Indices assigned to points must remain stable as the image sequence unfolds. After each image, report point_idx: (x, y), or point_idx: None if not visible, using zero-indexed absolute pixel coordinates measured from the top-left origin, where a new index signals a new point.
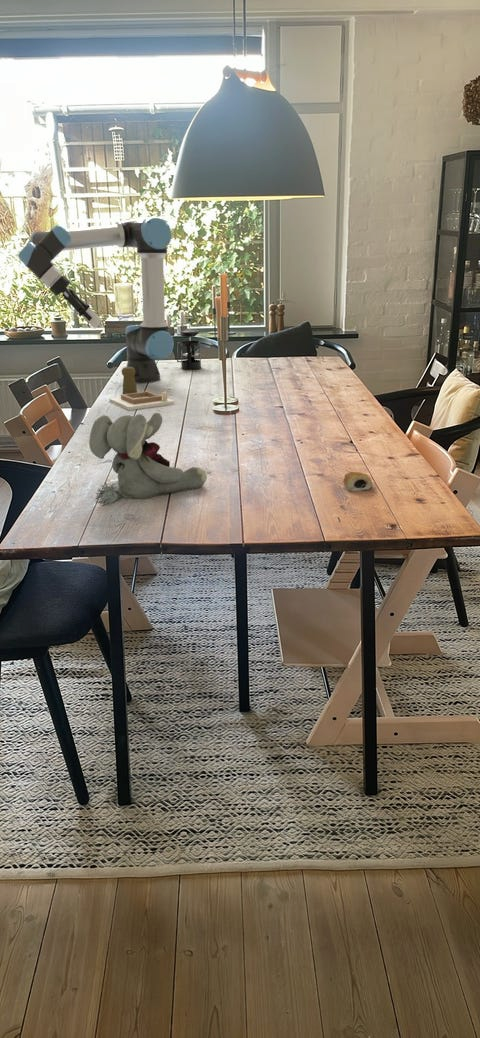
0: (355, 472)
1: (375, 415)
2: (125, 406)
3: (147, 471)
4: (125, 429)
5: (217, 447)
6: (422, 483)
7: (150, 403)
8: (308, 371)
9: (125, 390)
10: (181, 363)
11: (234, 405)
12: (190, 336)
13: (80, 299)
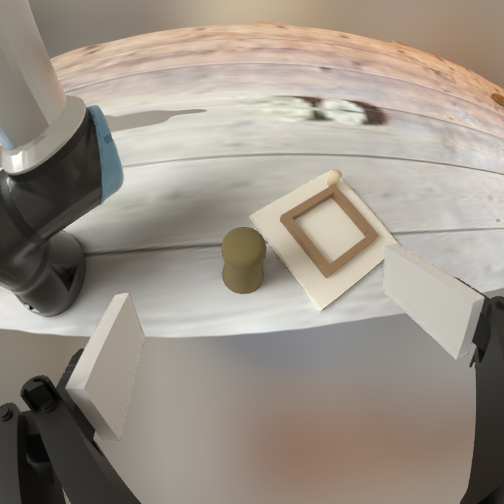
0: (500, 96)
1: (344, 34)
2: None
3: None
4: None
5: (490, 145)
6: (478, 78)
7: (363, 207)
8: (93, 62)
9: (260, 276)
10: None
11: (325, 101)
12: None
13: (16, 501)
